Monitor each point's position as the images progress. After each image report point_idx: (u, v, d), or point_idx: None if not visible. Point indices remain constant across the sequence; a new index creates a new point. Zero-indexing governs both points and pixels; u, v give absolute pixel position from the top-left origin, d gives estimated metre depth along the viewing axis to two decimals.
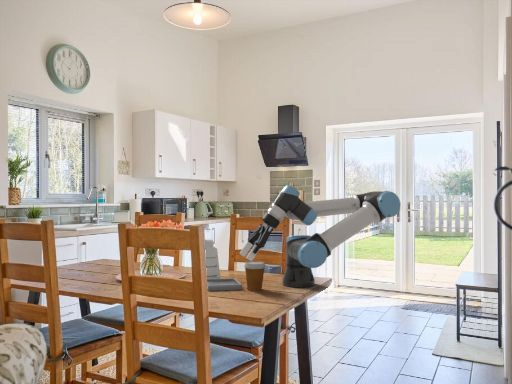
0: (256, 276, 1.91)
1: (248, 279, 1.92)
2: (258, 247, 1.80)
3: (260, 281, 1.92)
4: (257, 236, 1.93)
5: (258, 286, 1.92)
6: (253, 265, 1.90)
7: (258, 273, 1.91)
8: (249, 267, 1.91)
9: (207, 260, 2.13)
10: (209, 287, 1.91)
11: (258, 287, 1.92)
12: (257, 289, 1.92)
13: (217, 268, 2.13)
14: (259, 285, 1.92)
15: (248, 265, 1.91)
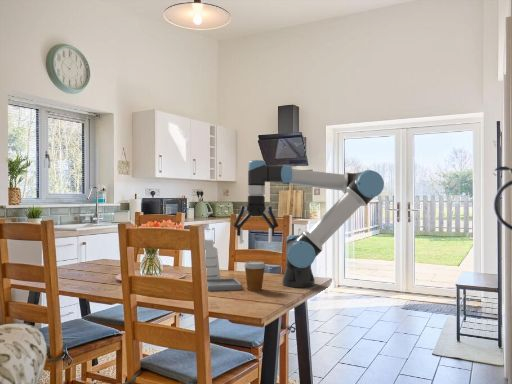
0: (256, 276, 1.91)
1: (248, 279, 1.92)
2: (237, 228, 1.92)
3: (260, 281, 1.92)
4: (264, 219, 1.96)
5: (258, 286, 1.92)
6: (253, 265, 1.90)
7: (258, 273, 1.91)
8: (249, 267, 1.91)
9: (207, 260, 2.13)
10: (209, 287, 1.91)
11: (258, 287, 1.92)
12: (257, 289, 1.92)
13: (217, 268, 2.13)
14: (259, 285, 1.92)
15: (248, 265, 1.91)
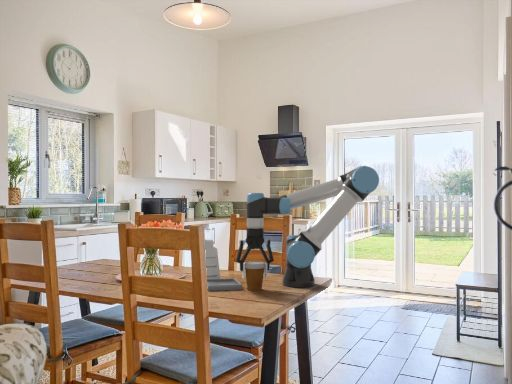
0: (256, 276, 1.91)
1: (248, 279, 1.92)
2: (240, 264, 1.93)
3: (260, 281, 1.92)
4: (261, 252, 1.95)
5: (258, 286, 1.92)
6: (253, 265, 1.90)
7: (258, 273, 1.91)
8: (249, 267, 1.91)
9: (207, 260, 2.13)
10: (209, 287, 1.91)
11: (258, 287, 1.92)
12: (257, 289, 1.92)
13: (217, 268, 2.13)
14: (259, 285, 1.92)
15: (248, 265, 1.91)
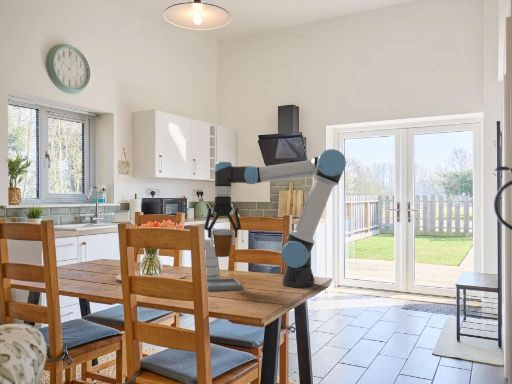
0: (223, 242, 1.97)
1: (216, 245, 1.98)
2: (208, 231, 1.99)
3: (227, 247, 1.98)
4: (229, 220, 2.01)
5: (225, 252, 1.98)
6: (220, 231, 1.96)
7: (225, 240, 1.97)
8: (216, 233, 1.97)
9: (207, 260, 2.13)
10: (209, 287, 1.91)
11: (225, 253, 1.98)
12: (224, 255, 1.98)
13: (217, 268, 2.13)
14: (226, 251, 1.98)
15: (215, 232, 1.97)
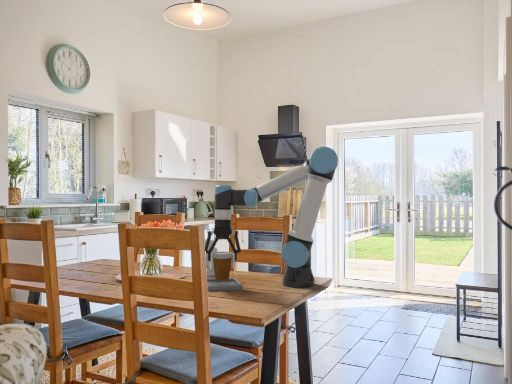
0: (223, 266, 1.97)
1: (215, 269, 1.98)
2: None
3: (227, 271, 1.98)
4: (229, 243, 2.01)
5: (225, 276, 1.97)
6: (220, 255, 1.96)
7: (225, 263, 1.97)
8: (216, 257, 1.97)
9: (207, 260, 2.13)
10: (209, 287, 1.91)
11: (225, 276, 1.97)
12: (224, 278, 1.97)
13: None
14: (226, 275, 1.98)
15: (215, 255, 1.97)
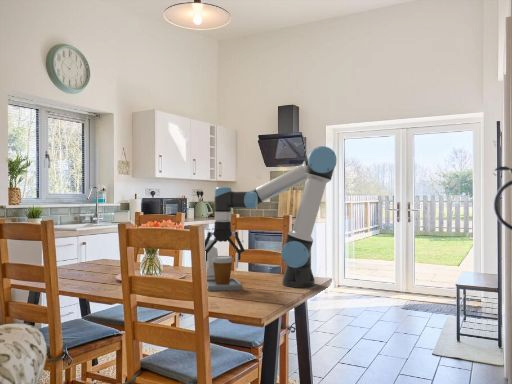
0: (223, 270, 1.96)
1: (216, 273, 1.98)
2: None
3: (227, 275, 1.98)
4: (231, 244, 2.01)
5: (225, 280, 1.97)
6: (220, 259, 1.96)
7: (225, 268, 1.97)
8: (216, 261, 1.96)
9: None
10: (209, 287, 1.91)
11: (225, 280, 1.97)
12: (224, 283, 1.97)
13: None
14: (226, 279, 1.97)
15: (215, 259, 1.97)
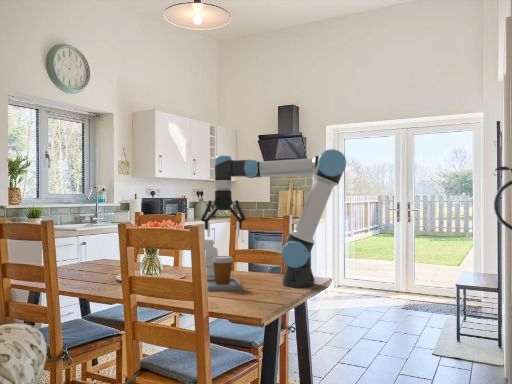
0: (223, 270, 1.96)
1: (216, 273, 1.98)
2: None
3: (227, 275, 1.98)
4: (232, 213, 2.01)
5: (225, 280, 1.97)
6: (220, 259, 1.96)
7: (225, 268, 1.97)
8: (216, 261, 1.97)
9: (207, 260, 2.13)
10: (209, 287, 1.91)
11: (225, 280, 1.97)
12: (224, 283, 1.97)
13: None
14: (226, 279, 1.97)
15: (215, 259, 1.97)
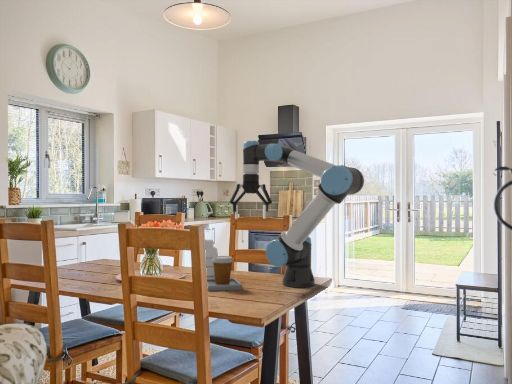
0: (223, 270, 1.96)
1: (216, 273, 1.98)
2: (233, 205, 2.06)
3: (227, 275, 1.98)
4: (259, 196, 2.09)
5: (225, 280, 1.97)
6: (220, 259, 1.96)
7: (225, 268, 1.97)
8: (216, 261, 1.96)
9: (207, 260, 2.13)
10: (209, 287, 1.91)
11: (225, 280, 1.97)
12: (224, 283, 1.97)
13: None
14: (226, 279, 1.97)
15: (216, 259, 1.97)
